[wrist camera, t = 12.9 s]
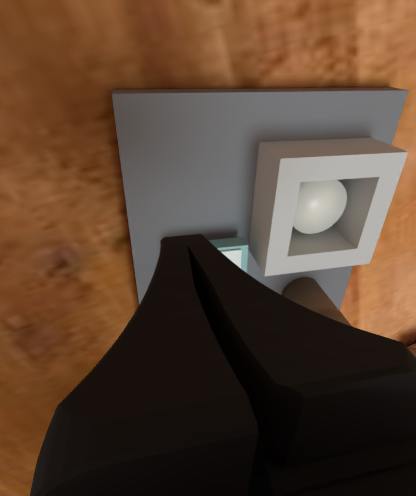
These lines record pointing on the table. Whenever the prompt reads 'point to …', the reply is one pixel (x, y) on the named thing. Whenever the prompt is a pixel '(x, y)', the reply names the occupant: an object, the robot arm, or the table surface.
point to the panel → (259, 174)
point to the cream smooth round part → (319, 205)
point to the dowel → (312, 298)
